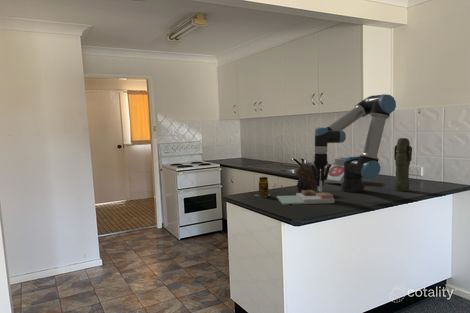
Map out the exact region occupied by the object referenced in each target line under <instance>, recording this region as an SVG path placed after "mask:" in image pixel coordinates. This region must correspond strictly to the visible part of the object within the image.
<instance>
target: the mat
mask: <svg viewBox="0 0 470 313" xmlns="http://www.w3.org/2000/svg"><path fill="white" fill-rule="evenodd" d="M276 199H277V200H278V201H279V202H280V203H281V204H282V205H283V206H288V205H289V204H292V205H305V204H304V202H303V201H301V200H300V199H299V198H298V197H297V196H296V194H295V195H276Z"/></svg>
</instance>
